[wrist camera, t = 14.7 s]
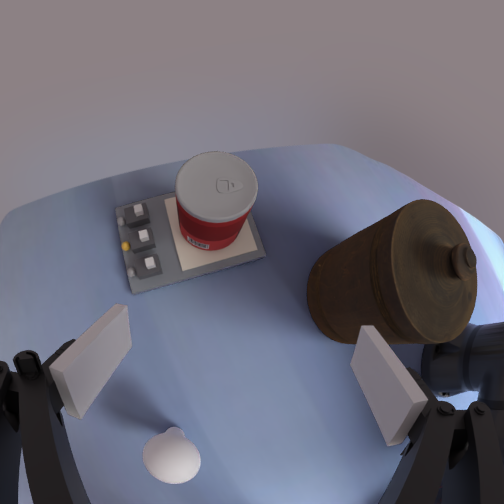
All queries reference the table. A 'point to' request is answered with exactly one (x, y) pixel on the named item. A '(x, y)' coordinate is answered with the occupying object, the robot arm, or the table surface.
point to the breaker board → (174, 246)
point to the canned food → (214, 199)
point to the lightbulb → (171, 457)
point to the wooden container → (397, 279)
